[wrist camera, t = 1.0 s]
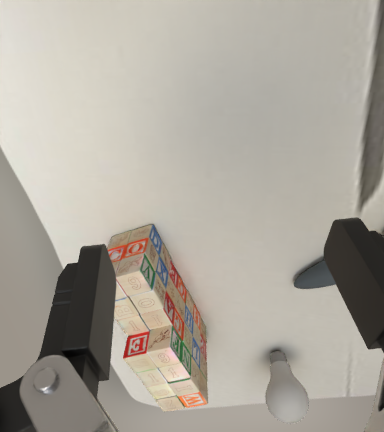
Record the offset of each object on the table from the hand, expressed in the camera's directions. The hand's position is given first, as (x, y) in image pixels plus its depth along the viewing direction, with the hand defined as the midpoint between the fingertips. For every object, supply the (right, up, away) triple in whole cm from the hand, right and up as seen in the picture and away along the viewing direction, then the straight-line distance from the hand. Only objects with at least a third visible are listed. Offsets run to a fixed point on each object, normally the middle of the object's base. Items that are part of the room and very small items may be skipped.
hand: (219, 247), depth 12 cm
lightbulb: (+13, -22, +43) cm, 50 cm away
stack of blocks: (-5, -9, +36) cm, 38 cm away
